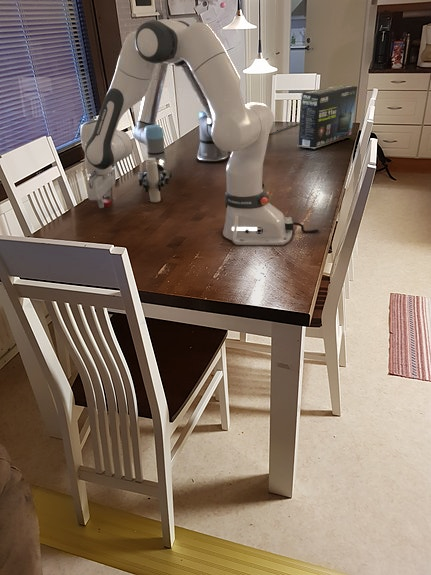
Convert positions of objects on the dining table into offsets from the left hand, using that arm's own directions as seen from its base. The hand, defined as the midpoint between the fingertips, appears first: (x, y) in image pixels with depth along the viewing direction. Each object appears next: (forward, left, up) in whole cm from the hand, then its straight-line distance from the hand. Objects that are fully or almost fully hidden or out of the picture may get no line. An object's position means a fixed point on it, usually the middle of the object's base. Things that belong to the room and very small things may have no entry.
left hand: (152, 188), depth 171 cm
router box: (-108, +45, -7) cm, 117 cm away
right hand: (+9, -16, -5) cm, 19 cm away
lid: (+9, -16, -4) cm, 19 cm away
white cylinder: (-5, -2, -7) cm, 9 cm away
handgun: (-38, +26, -7) cm, 46 cm away
